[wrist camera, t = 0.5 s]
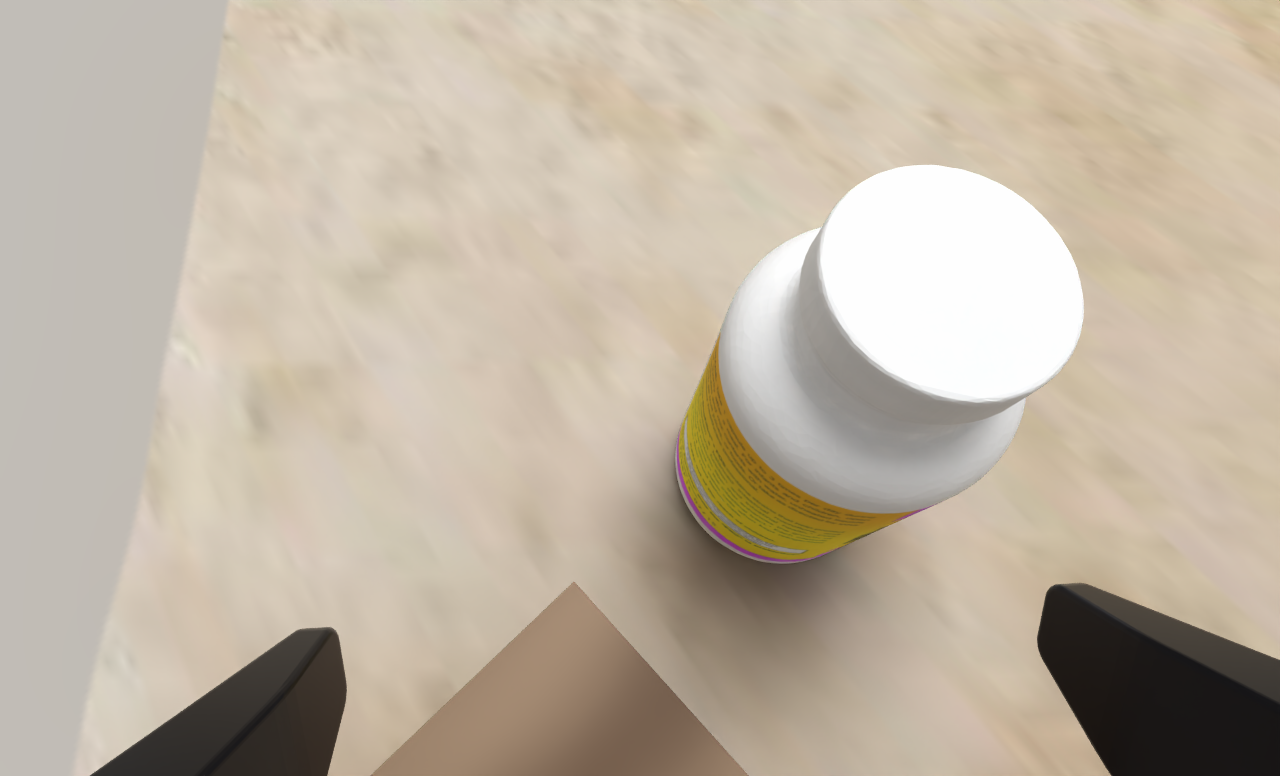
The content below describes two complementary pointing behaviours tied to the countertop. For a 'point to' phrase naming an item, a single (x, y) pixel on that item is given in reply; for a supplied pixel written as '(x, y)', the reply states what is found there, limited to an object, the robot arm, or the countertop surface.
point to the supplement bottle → (876, 363)
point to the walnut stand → (564, 711)
